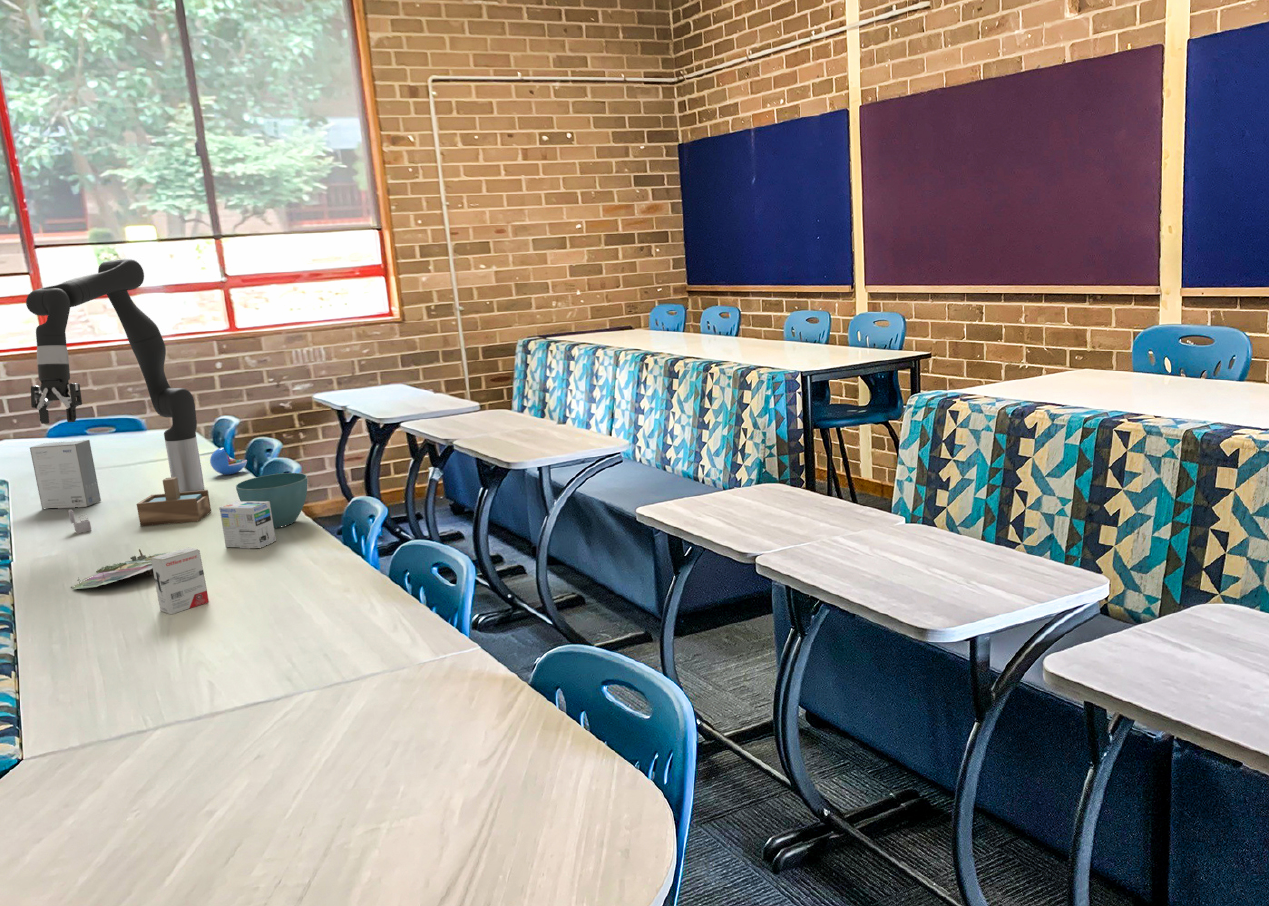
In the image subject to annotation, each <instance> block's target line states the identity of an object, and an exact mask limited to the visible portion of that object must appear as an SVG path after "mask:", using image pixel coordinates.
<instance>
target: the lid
mask: <svg viewBox="0 0 1269 906" xmlns="http://www.w3.org/2000/svg"><path fill="white" fill-rule="evenodd" d="M162 486H163V491H164V494H165V497H160V498H154V499H153V500H151V501H149V502H156V501H168V500H179V499H190V498H197V500H198V499H199V498H200V497H202V495H201V494H194V495H183V496H180V491H179V485H178V479H177V477H172V478H171V477H166V478H164V479H163V480H162Z"/></svg>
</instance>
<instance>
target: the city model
mask: <svg viewBox="0 0 1269 906" xmlns="http://www.w3.org/2000/svg"><path fill="white" fill-rule="evenodd" d="M138 552H139V555H138V556H137V555H136V554H134V556H131V557H129V558H130V560H127V561H124V562H122V563H121V562H119V563H117V562H116V563H113V564H108V565H105V566H102V567H101V568H99V569H97V570H96V572H95V574H92V576H93V577H91V576H90V577H91V578H89V577H88V578H89V579H87V578H86V579H87V580H85V579H84V580H85V581H84V580H82V581H80V578H79V577H78V579H77V580H76V581H78V583H79V584H78V583H76V584H74V585H73V586H75V587H72V586H71V587H72V588H71V589H72V590H77V589H79V590H80V589H89V588H97V587H99V586H102V585H107V584H111V583H113V582H118V581H119V580H123V579H128V578H130V577H132V576H135V575H138V574H142V573H144V574H145V575H146V577H149V576H154V573H153V567H152V562H151V558H152V557H156V556H159V555H163V554H166V553H167V552H163V553H155V554H153V555H147V556H146V554H145V555H144V554H143V552H142V551H141V548H139V549H138ZM170 552H171V551H169V552H168V553H170ZM98 572H99V573H98ZM80 582H81V583H80Z"/></svg>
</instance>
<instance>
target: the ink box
mask: <svg viewBox="0 0 1269 906" xmlns="http://www.w3.org/2000/svg"><path fill="white" fill-rule="evenodd" d="M169 552H170V553H169ZM169 552H165V553H166V554H163V555H159V556H156V557H152V558H151V562H152V567H153V573H154V575H153V578H154V583H155V590H156V593H157V600H158V605H159V610H160V611H161V612H163V613H166V614H169V615H174V614H177V613H180V612H182V611H183V612H184V611H185V610H186V611H187V610H189V609H192V608H195V607H196V608H197V607H198V606H201V605H204V604H207V603H209V602H210V600H209V595H208V594H209V593H208V588H207V583H206V578H205V572H204V568H203V560H202V555H201V551H200V549H199V548H194V547H185V548H181V549H177V550H175V551H169Z"/></svg>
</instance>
